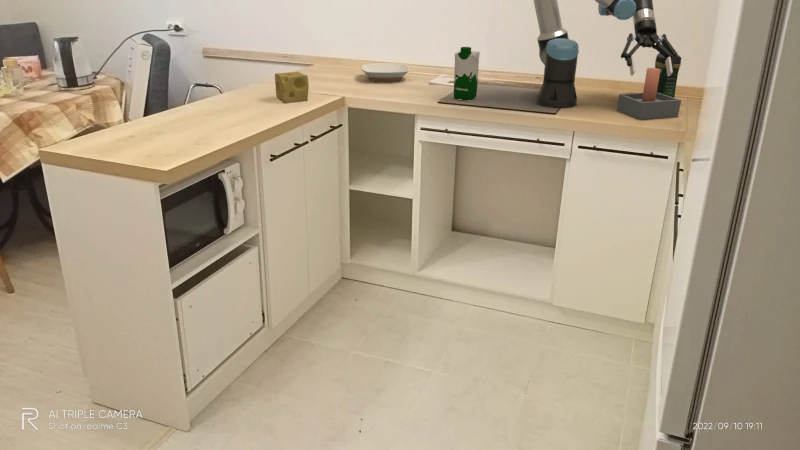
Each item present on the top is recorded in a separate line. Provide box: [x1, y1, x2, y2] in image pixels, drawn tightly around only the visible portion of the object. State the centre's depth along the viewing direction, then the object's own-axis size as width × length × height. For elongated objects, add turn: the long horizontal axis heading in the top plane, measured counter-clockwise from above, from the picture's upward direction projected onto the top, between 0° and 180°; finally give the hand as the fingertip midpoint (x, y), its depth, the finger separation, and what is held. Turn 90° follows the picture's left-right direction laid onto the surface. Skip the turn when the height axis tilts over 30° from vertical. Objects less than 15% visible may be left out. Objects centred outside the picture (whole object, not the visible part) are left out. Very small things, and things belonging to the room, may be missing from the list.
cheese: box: [274, 71, 310, 104], centre depth 247 cm, size 10×11×10 cm
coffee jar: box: [654, 52, 682, 98], centre depth 247 cm, size 10×8×19 cm
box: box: [616, 92, 682, 121], centre depth 231 cm, size 16×14×6 cm
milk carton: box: [453, 46, 480, 101], centre depth 248 cm, size 9×9×20 cm
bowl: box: [360, 62, 410, 83], centre depth 285 cm, size 22×22×5 cm
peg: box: [642, 67, 660, 102], centre depth 229 cm, size 4×4×16 cm
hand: (651, 73), depth 231 cm, fingers open, 13 cm apart
